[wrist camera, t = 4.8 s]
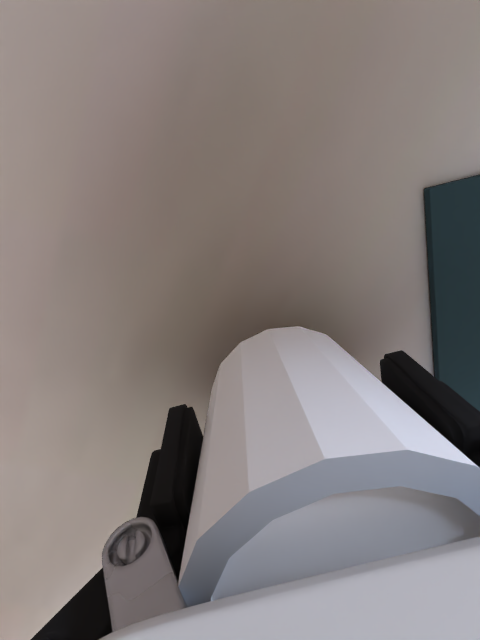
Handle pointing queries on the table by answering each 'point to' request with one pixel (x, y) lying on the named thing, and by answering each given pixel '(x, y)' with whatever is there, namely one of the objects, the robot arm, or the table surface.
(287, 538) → the shot glass
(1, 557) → the table surface
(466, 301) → the mat
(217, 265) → the table surface
